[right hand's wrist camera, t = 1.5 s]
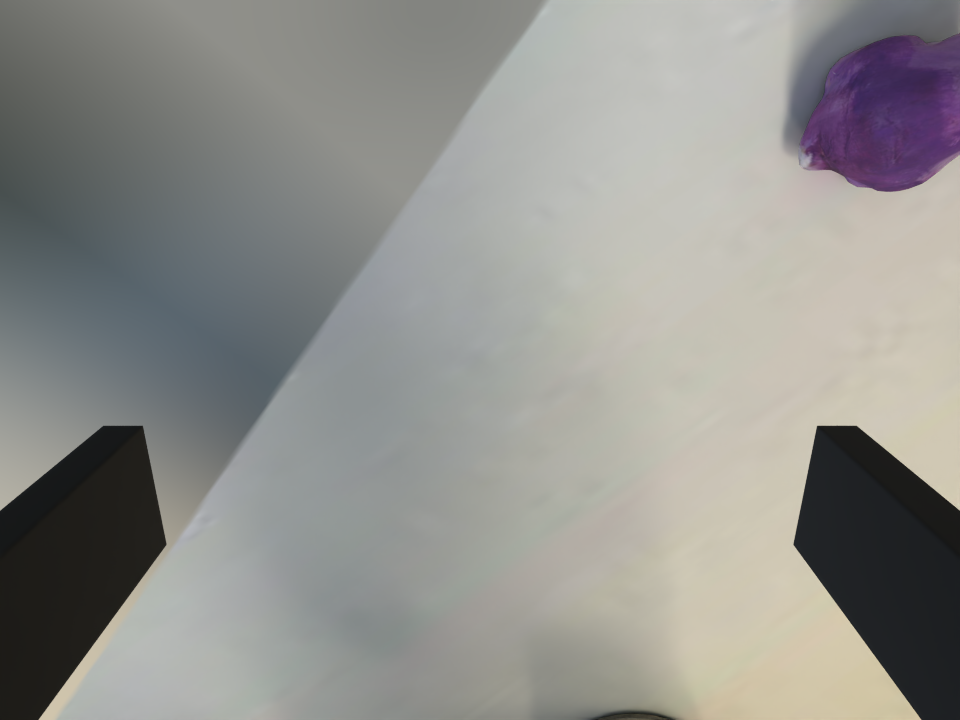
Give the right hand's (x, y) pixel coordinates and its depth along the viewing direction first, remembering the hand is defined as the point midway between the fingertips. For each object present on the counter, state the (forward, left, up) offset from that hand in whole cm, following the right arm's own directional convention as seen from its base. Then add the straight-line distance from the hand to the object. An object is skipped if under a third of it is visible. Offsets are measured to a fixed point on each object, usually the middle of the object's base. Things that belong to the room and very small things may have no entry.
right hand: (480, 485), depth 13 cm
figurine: (+8, -24, -31) cm, 40 cm away
